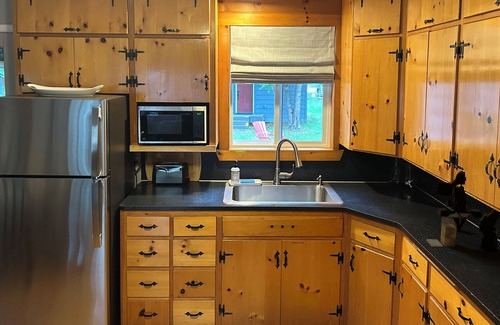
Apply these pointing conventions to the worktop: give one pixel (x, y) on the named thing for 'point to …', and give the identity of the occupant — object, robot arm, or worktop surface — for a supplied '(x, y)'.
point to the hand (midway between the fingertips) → (457, 230)
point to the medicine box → (448, 220)
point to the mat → (434, 243)
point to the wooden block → (448, 234)
